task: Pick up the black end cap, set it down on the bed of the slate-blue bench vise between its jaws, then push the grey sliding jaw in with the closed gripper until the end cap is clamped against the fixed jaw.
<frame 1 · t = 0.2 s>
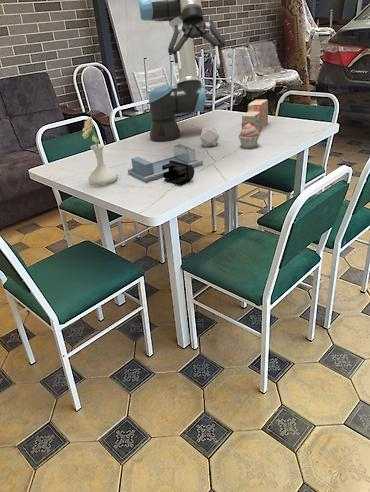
hand: (199, 68, 150), 36 cm above the table, tool tilted 35°, fingers open, 13 cm apart
sliding jaw: (187, 153, 171), point 4 cm above the table, slide at 0.0 cm
stack of blocks: (255, 130, 207), on the table
cupcake: (249, 146, 184), on the table
flower in vase: (104, 182, 161), on the table
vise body: (165, 169, 168), on the table
end cap: (179, 181, 156), on the table
die: (209, 145, 191), on the table
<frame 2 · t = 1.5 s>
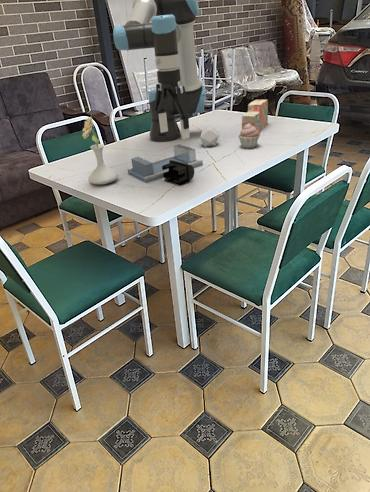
hand: (174, 135, 148), 17 cm above the table, tool pointing down, fingers open, 13 cm apart
nothing on the table moved.
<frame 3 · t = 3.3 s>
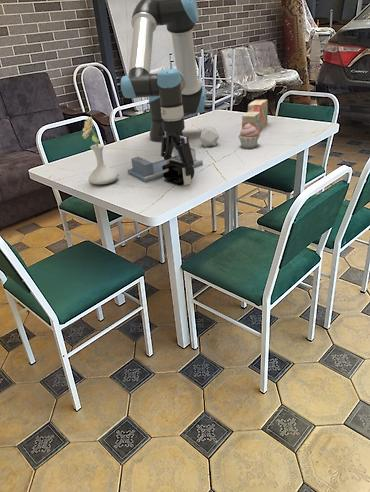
hand: (178, 179, 156), 0 cm above the table, tool pointing down, fingers open, 10 cm apart
end cap: (179, 181, 156), on the table, touching gripper
everything else where it was.
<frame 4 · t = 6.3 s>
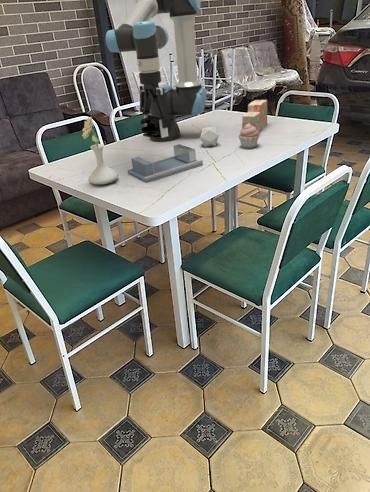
hand: (157, 134, 160), 14 cm above the table, tool pointing down, fingers closed on end cap, 10 cm apart
end cap: (157, 135, 160), point 14 cm above the table, touching gripper
when the fingers open (2 cm above the table, at t = 8.5 s): end cap stays where it is, resting on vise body.
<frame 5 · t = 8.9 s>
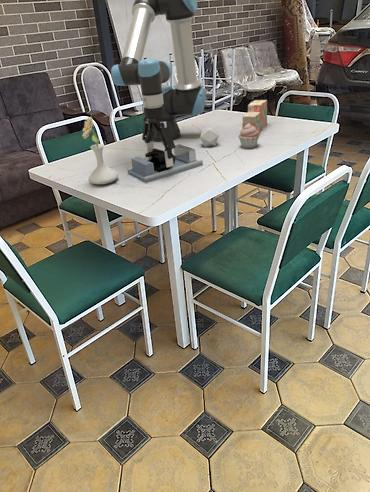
hand: (160, 162, 165), 3 cm above the table, tool pointing down, fingers open, 13 cm apart
end cap: (161, 168, 166), point 1 cm above the table, touching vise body
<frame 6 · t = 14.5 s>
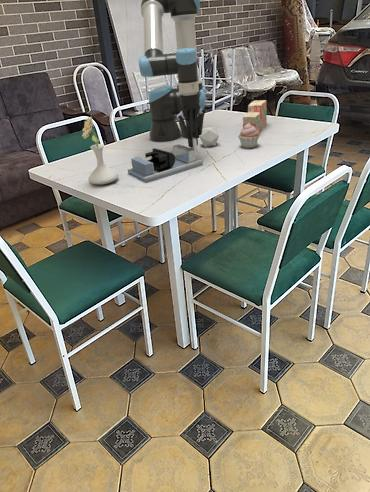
hand: (194, 154, 173), 3 cm above the table, tool pointing down, fingers closed
sliding jaw: (186, 153, 171), point 4 cm above the table, slide at 0.3 cm, touching gripper
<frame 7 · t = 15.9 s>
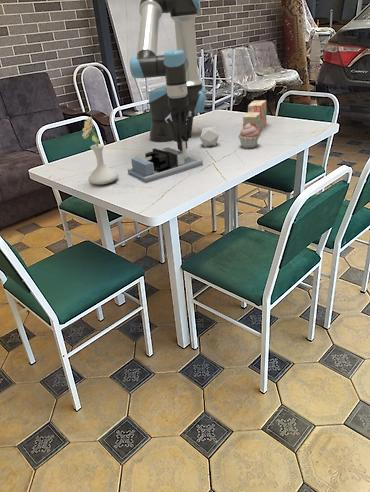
hand: (183, 157, 170), 3 cm above the table, tool pointing down, fingers closed
sliding jaw: (175, 156, 168), point 4 cm above the table, slide at 5.5 cm, touching gripper
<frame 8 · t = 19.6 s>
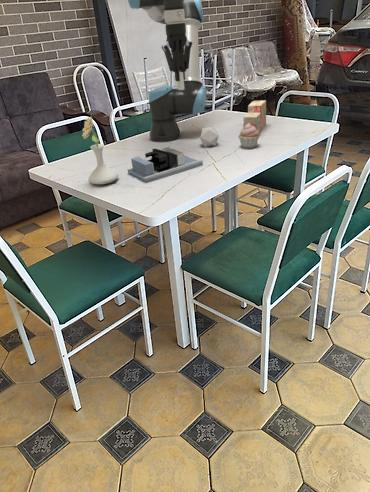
hand: (181, 89, 170), 26 cm above the table, tool pointing down, fingers closed
sliding jaw: (175, 156, 168), point 4 cm above the table, slide at 5.5 cm
at the end: end cap inside the target area on the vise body (0.8 cm from its centre), point 1.0 cm above the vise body's base; sliding jaw slide at 5.5 cm; the gripper is holding nothing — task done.
